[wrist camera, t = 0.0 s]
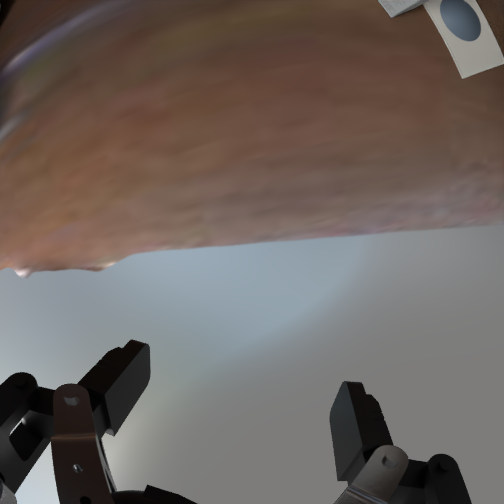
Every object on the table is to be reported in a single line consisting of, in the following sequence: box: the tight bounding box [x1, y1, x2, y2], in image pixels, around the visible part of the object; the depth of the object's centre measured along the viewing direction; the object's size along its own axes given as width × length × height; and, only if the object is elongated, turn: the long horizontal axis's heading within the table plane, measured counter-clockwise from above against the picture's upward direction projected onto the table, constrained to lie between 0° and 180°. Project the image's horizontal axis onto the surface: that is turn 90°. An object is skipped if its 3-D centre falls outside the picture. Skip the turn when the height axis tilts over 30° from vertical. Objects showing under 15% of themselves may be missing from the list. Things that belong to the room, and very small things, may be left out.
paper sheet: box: [423, 0, 504, 79], centre depth 19 cm, size 18×10×1 cm, turn 34°
